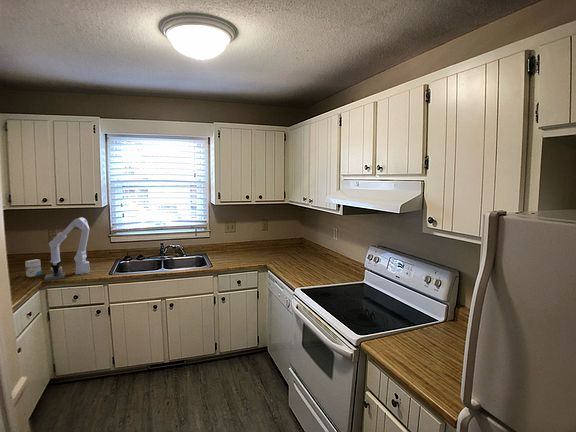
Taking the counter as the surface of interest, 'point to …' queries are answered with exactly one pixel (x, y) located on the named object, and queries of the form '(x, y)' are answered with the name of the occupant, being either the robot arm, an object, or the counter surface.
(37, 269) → the ink box
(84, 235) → the robot arm
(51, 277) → the stand
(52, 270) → the block
